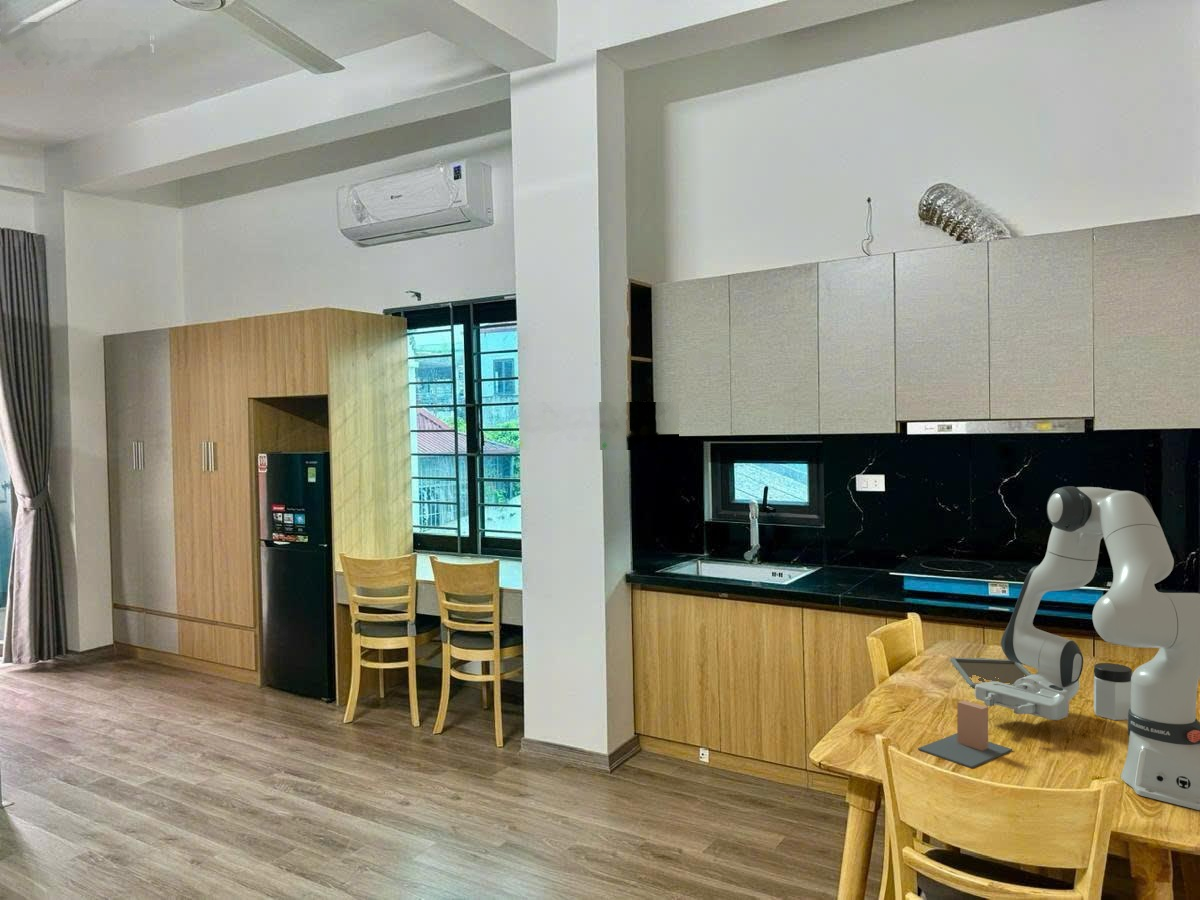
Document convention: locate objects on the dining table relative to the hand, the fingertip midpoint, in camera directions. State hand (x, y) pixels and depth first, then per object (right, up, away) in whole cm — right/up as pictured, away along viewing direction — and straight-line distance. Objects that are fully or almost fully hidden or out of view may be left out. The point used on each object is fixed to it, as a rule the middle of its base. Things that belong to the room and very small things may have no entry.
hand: (1001, 706), depth 202 cm
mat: (-12, -7, -8) cm, 17 cm away
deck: (-10, -7, -7) cm, 14 cm away
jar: (+34, -6, +13) cm, 37 cm away
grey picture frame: (+21, -6, +49) cm, 53 cm away
